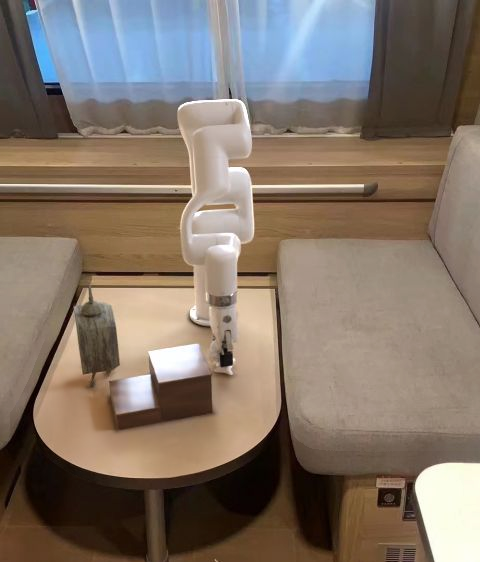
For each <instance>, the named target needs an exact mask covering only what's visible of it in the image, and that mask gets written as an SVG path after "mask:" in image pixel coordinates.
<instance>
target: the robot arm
mask: <svg viewBox="0 0 480 562" xmlns="http://www.w3.org/2000/svg"><path fill="white" fill-rule="evenodd" d="M176 118H177V125H178V129H179V132H180V135H181V137H182V139H183V141H184V144H185V146H186V148H187V153H188V157H189V170H190V171H189V172H190V174H189V175H190V186H191V195H192V197H191V198H190V199H189V201H188V202H187V204H186V205H185V207H184V209H183V212H182V213H181V216H180V217H181V218H180V224H179V225H180V227H179V228H180V229H179V230H180V231H179V233H180V245H181V246H180V247H181V256H182V258H183V261H184V262H185V264H187V265H188V266H192V267H193V286H194V288H193V289H194V290H193V291H194V306H193V307H192V308H191V309H190V311H189V317H190V319H191V321H192V322H193V323H195V324H198V325H200V326H204V327H210V329H211V332H212V342H213V341H214V340H215V339H216V340H217V342H218V343H219V344H220V348H221V353H220V367H227V366H232V365H233V366H234V364H233V358H234V345H233V343H238V342H239V334H238V333H239V332H238V317H237V310H236V305H237V303H238V261H239V257H240V256H241V251H242V245H245V244H249V243H250V242H252V241H253V239H254V236H255V218H254V217H255V216H254V215H255V214H254V201H253V200H254V198H253V185H252V179H251V176H250V173H249V172H248V170H247V169H245V168H244V167H234V166H233V167H229V166H230V165H229V160H240V159H241V160H242V159H246V158H249V157H250V155H251V153H252V149H253V137H252V130H251V125H250V120H249V117H248V112H247V109H246V105H245V104H244V102H243V101H242V100H239V99H216V100H197V101H190V102H185V103H183V104H181V105H180V106H179V107H178V109H177V112H176ZM216 205H218V206H219V205H234V206H235V208H227V209H207V210H200V209H201V208H203V207H204V206H216ZM198 210H200V211H198ZM231 338H232V339H231ZM224 339H225V340H226V341H224V342H222V341H223V340H224ZM224 344H226V346H227V347H226V348H224V347H223V345H224Z"/></svg>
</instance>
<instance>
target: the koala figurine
mask: <svg viewBox="0 0 480 562" xmlns="http://www.w3.org/2000/svg"><path fill="white" fill-rule="evenodd" d="M231 339H232V338H231ZM224 341H226V340H225V339H224V340H223V341H222V342H224ZM223 347H224V348H226V347H227V346H226V344H224V345H223ZM220 353H221V348H220V344H219V343H218V342H217V340H216V339H215V340H214V341H213V340H212V342H211V344H210V346H209V348H208V357H209V360H210V361H211V362H213V363H215V366H216V368H214V370H213V371H214V373H223V374H226V375H229V376H232V375H233V374H234V372H233V371H232V368H233V366H234V364H235V362H236V361H237V360H236V358H235V357H233V365H232V366H227V367H220Z"/></svg>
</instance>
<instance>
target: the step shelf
mask: <svg viewBox="0 0 480 562" xmlns="http://www.w3.org/2000/svg"><path fill="white" fill-rule="evenodd" d="M147 354H148V361H149V362H148V363H149V374H143V375H137V376H130V377H125V378H118V379H113V380H108V388H109V389H108V390H109V398H110V400H111V406H112V410H113V414H114V419H115V424H116V429H117V431H120V430H126V429H131V428H136V427H142V426H147V425H149V426H150V425H154V424H160V423H164V422H171V421H175V420H182V419H187V418H193V417H198V416H205V415H209V414H213V413H214V412H213V411H214V408H213V407H214V406H213V382H212V381H213V379H212V376H213V373H212V370H211V369H210V366H209V364H208V362H207V359H206V357H205V355H204V353H203V351H202V349H201V345H200V344H199V343H191V344H186V345H179V346H173V347H166V348H161V349H160V348H159V349H154V350H148V351H147Z"/></svg>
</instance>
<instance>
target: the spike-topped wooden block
mask: <svg viewBox="0 0 480 562" xmlns="http://www.w3.org/2000/svg"><path fill="white" fill-rule="evenodd" d="M87 289H88V301H86V302H85V303H84V304H79V305H73V310H74V321H75V328H76V336H77V344H78V350H79V351H78V352H79V358H80V365H81V372H82V376H84V375H90V374H91V380H90V381H88V383H87V385H88V387H89V388H94V387H95V385H96V383H95V381H94V380H95V377H96V376H97V374H99V373H105V372H106V373H107V374H109V373H110V374H111V372H113V371H114V370H116V369H117V368H118V367H119V366H120V365H121V361H120V351H119V341H118V340H119V339H118V333H117V331H118V330H117V324H116V319H115V315H114V311H113V307H112V305H111V304H109V303H106V302H99V301H97V300H94V296H93V290H92V285H91V283H89V282H87Z"/></svg>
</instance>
